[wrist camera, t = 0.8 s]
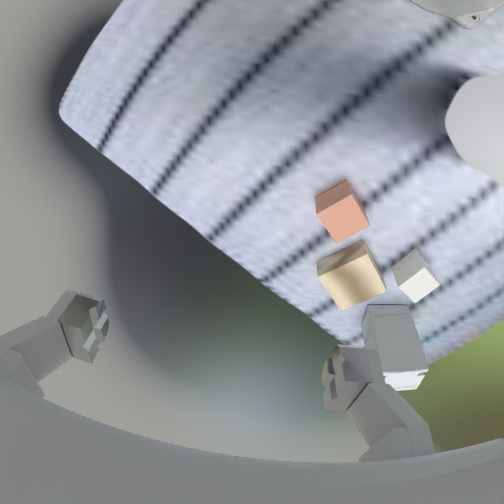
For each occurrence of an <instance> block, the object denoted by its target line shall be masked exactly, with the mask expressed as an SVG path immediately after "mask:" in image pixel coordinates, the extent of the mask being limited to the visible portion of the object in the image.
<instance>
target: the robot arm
mask: <svg viewBox="0 0 504 504" xmlns="http://www.w3.org/2000/svg"><path fill="white" fill-rule="evenodd" d="M411 1H412V2H414V3H415V4H417V5H419V6H420V7H422V8H424V9H426V10H428V11H431V12H433V13H436V14H440V15H444V16H447V17H450V18H452V19H453V20H454V21H456V22H457V23H458V24H460V25H461V26H463V27H465V28H467V29H472V28H475V27H476V26H477V25H479V24H480V23H481V22H482V21H484V20H485V19H486V18H487V17H489V16H490V15H491V14H492V13H494V12H495V11H496V10H497V9H499V8H500V7H501V6H502V5H504V0H411ZM472 16H474V19H473V18H472ZM105 309H106V305H105V301H104V300H102V299H99V298H96V297H93V296H90V295H86V294H83V293H79V292H76V291H73V290H70V289H69V290H66V291H65V292H64V294H63V295H62V296H61V297H60V299H59V300H58V301H57V302H56V304H55V305H54V307H53V308H52V309H51V310H50V312H49V313H48V314H47V316H46V317H43V316H42V317H40V318H38V319H36V320H33V321H31V322H29V323H27V324H25V325H23V326H20V327H18V328H16V329H14V330H12V331H10V332H8V333H6V334H4V335H2V336H0V504H504V439H495V440H492V441H489V442H485V443H481V444H478V445H474V446H470V447H465V448H461V449H456V450H452V451H446V452H441V453H436V454H435V452H434V448H433V443H432V440H431V435H430V431H429V427H428V424H427V423H426V422H425V421H424V420H423V419H422V418H421V417H420V416H419V415H418V414H417V413H416V412H415V411H414V409H412V407H411V406H409V404H408V403H407V402H406V401H405V400H404V399H403V398H402V397H401V396H400V395H399V394H398V393H397V392H396V390H395V389H394V388H393V387H392V386H391V385H390V384H386V383H385V379H384V375H383V371H382V367H381V363H380V360H379V356H378V352H377V350H376V349H375V348H369V347H359V346H348V345H339V344H336V345H335V346H334V347H333V349H332V351H331V353H332V357H330V358H328V359H327V360H326V362H325V364H324V367H323V372H322V384H323V385H324V386H325V387H326V390H325V392H324V394H323V397H324V408H325V409H328V410H343V411H346V412H347V414H348V416H349V417H350V418H351V420H352V422H353V423H354V424H355V426H356V427H357V429H358V430H359V432H360V433H361V435H362V436H363V438H364V439H365V441H366V442H367V444H368V445H369V447H370V449H369V450H368V451H367V452H365V453H364V454H363V455H362V456H361V457H360V458H359V462H343V463H341V462H340V463H318V462H291V461H276V460H265V459H256V458H247V457H239V456H232V455H226V454H220V453H214V452H208V451H202V450H197V449H193V448H188V447H183V446H179V445H174V444H170V443H166V442H162V441H158V440H155V439H151V438H147V437H144V436H140V435H137V434H133V433H130V432H127V431H124V430H121V429H118V428H115V427H111V426H109V425H106V424H103V423H101V422H98V421H95V420H92V419H90V418H87V417H85V416H82V415H80V414H77V413H75V412H72V411H70V410H67V409H65V408H63V407H61V406H58V405H56V404H54V403H52V402H50V401H47V400H45V399H43V398H44V392H43V391H42V389H41V387H40V386H39V384H38V382H39V381H41V380H42V379H44V378H45V377H46V376H48V375H49V374H51V373H52V372H53V371H55V370H56V369H58V368H59V367H60V366H62V365H63V364H65V363H66V362H68V361H69V360H71V359H72V357H74V358H77V359H80V360H83V361H86V362H90V363H92V362H93V360H94V358H95V357H96V355H97V353H98V351H99V348H98V344H99V343H101V342H103V341H104V339H105V338H106V336H107V332H108V328H109V320H108V316H107V315H106V314H105V313H104V310H105Z"/></svg>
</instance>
